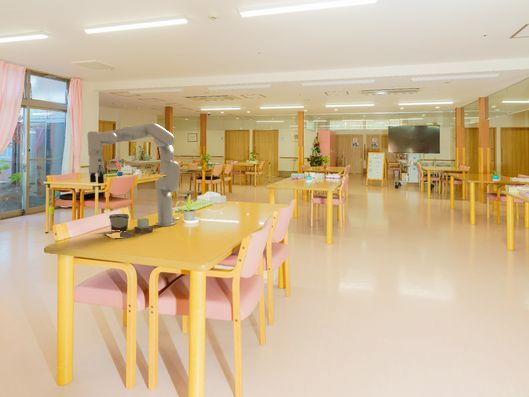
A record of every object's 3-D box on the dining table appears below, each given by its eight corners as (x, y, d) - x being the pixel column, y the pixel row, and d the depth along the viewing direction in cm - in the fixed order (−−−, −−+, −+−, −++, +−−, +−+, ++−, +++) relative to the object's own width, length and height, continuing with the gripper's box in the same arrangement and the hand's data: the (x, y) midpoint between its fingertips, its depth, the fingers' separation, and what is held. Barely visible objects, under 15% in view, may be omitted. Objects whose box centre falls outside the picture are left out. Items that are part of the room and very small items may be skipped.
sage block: (145, 230, 240) (145, 218, 239) (149, 232, 237) (148, 219, 236) (137, 232, 237) (137, 219, 236) (141, 233, 233) (140, 220, 232)
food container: (133, 229, 244) (132, 213, 242) (128, 231, 238) (128, 215, 236) (114, 229, 245) (113, 213, 244) (109, 231, 239) (108, 215, 238)
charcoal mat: (123, 232, 236) (123, 231, 236) (134, 236, 225) (134, 235, 225) (103, 234, 228) (103, 234, 228) (114, 239, 217) (114, 238, 217)
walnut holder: (146, 230, 242) (146, 225, 242) (152, 232, 236) (152, 227, 236) (134, 231, 237) (134, 227, 237) (140, 233, 231) (139, 228, 231)
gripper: (108, 153, 223) (110, 183, 225) (95, 153, 234) (96, 181, 236) (95, 153, 217) (97, 184, 219) (82, 153, 229) (84, 182, 231)
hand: (97, 182), depth 228 cm, fingers open, 9 cm apart
